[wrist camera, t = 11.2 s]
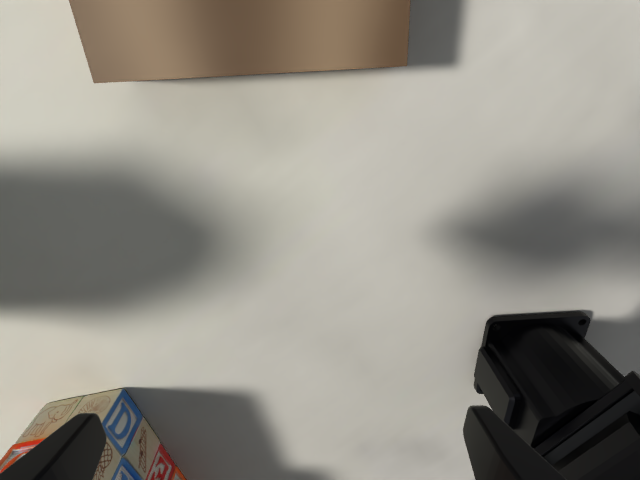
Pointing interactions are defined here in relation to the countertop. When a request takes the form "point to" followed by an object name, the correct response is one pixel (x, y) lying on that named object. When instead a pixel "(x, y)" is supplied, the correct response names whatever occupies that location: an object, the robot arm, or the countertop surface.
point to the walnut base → (238, 37)
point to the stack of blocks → (121, 431)
